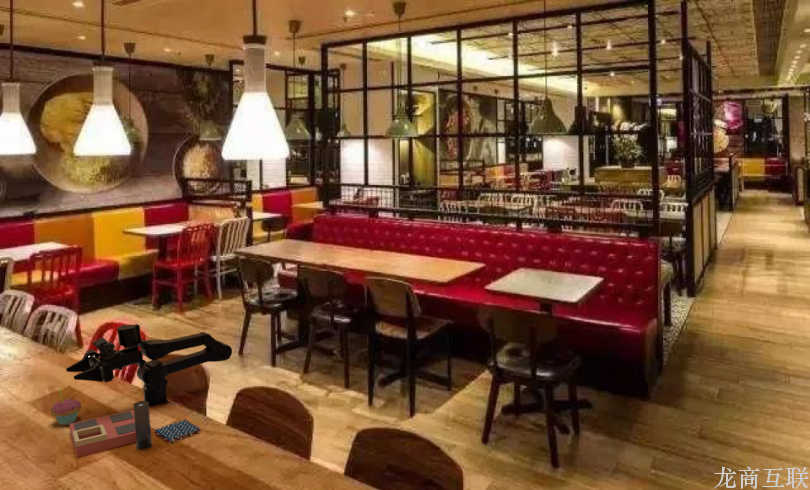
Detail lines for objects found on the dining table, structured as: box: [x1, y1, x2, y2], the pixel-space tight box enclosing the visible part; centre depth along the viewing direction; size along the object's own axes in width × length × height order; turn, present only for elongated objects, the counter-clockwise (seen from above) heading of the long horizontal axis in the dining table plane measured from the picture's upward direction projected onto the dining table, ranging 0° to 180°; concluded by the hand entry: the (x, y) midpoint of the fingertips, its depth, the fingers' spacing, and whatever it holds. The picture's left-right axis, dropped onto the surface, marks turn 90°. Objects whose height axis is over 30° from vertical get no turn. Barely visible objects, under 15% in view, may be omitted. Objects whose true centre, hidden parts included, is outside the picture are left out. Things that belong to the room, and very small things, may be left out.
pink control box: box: [69, 409, 136, 458], centre depth 183 cm, size 18×18×4 cm
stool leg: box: [132, 400, 152, 450], centre depth 176 cm, size 4×4×13 cm
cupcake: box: [50, 387, 82, 426], centre depth 193 cm, size 9×8×12 cm
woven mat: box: [153, 419, 201, 445], centre depth 185 cm, size 10×11×2 cm
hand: (70, 373), depth 190 cm, fingers open, 9 cm apart
